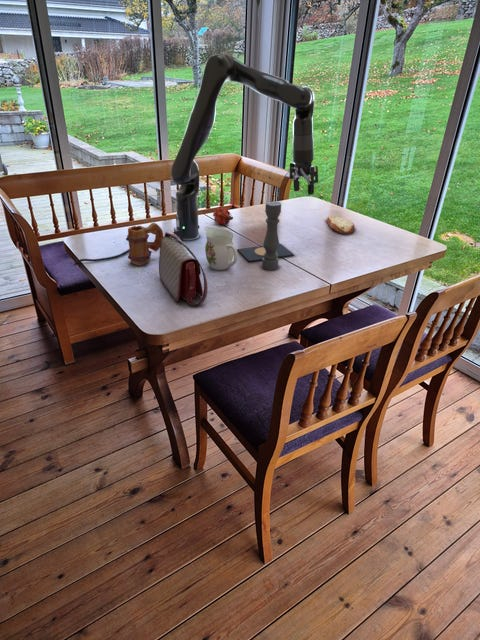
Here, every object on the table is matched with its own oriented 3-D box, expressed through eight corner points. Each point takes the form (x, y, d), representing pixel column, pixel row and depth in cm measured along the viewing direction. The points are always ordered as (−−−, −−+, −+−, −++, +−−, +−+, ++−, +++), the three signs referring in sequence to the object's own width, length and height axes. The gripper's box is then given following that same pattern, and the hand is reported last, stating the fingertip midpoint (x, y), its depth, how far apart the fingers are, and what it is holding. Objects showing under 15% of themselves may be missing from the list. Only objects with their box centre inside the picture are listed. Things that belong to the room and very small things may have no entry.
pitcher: (225, 279, 166) (225, 243, 159) (196, 263, 178) (194, 230, 171) (247, 271, 173) (248, 236, 165) (217, 256, 184) (217, 224, 177)
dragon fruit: (217, 222, 226) (228, 232, 218) (205, 214, 220) (216, 225, 212) (227, 207, 224) (239, 218, 216) (215, 199, 218) (227, 210, 210)
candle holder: (276, 271, 173) (280, 206, 160) (260, 269, 174) (263, 205, 161) (279, 264, 178) (283, 201, 165) (263, 263, 179) (266, 200, 166)
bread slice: (329, 218, 229) (330, 211, 227) (363, 225, 220) (364, 218, 218) (313, 227, 216) (313, 220, 214) (347, 236, 207) (349, 228, 205)
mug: (131, 268, 173) (127, 231, 165) (125, 261, 179) (121, 224, 171) (167, 262, 179) (165, 225, 171) (161, 255, 185) (158, 219, 177)
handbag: (212, 305, 149) (211, 256, 140) (181, 311, 145) (178, 261, 136) (184, 272, 171) (182, 228, 162) (157, 277, 167) (153, 231, 158)
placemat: (249, 262, 180) (249, 260, 179) (237, 250, 190) (237, 248, 190) (293, 255, 186) (294, 254, 186) (280, 244, 197) (280, 243, 196)
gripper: (283, 147, 169) (284, 191, 177) (307, 151, 158) (307, 197, 166) (299, 145, 172) (299, 188, 180) (323, 147, 161) (323, 193, 169)
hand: (303, 192), depth 173 cm, fingers open, 8 cm apart
